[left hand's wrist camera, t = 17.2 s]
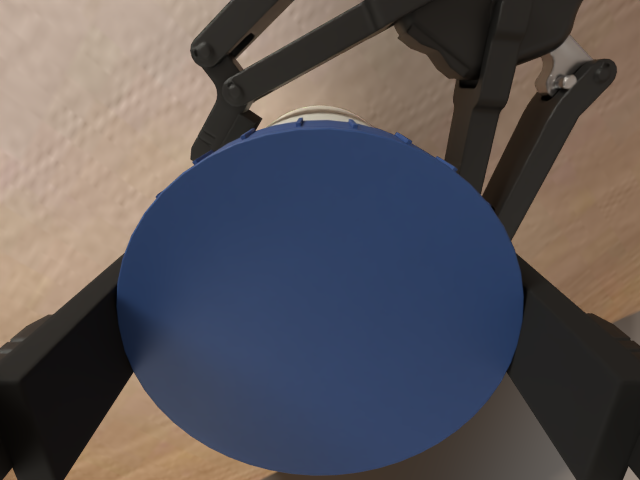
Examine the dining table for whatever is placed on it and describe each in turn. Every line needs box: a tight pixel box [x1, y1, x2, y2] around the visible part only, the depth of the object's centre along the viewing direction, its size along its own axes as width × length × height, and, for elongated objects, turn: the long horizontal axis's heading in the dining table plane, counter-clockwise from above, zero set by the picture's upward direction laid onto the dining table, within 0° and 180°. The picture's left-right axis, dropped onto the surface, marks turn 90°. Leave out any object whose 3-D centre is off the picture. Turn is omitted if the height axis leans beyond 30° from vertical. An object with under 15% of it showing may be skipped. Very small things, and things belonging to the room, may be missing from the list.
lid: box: [116, 118, 524, 475], centre depth 11 cm, size 11×11×2 cm
